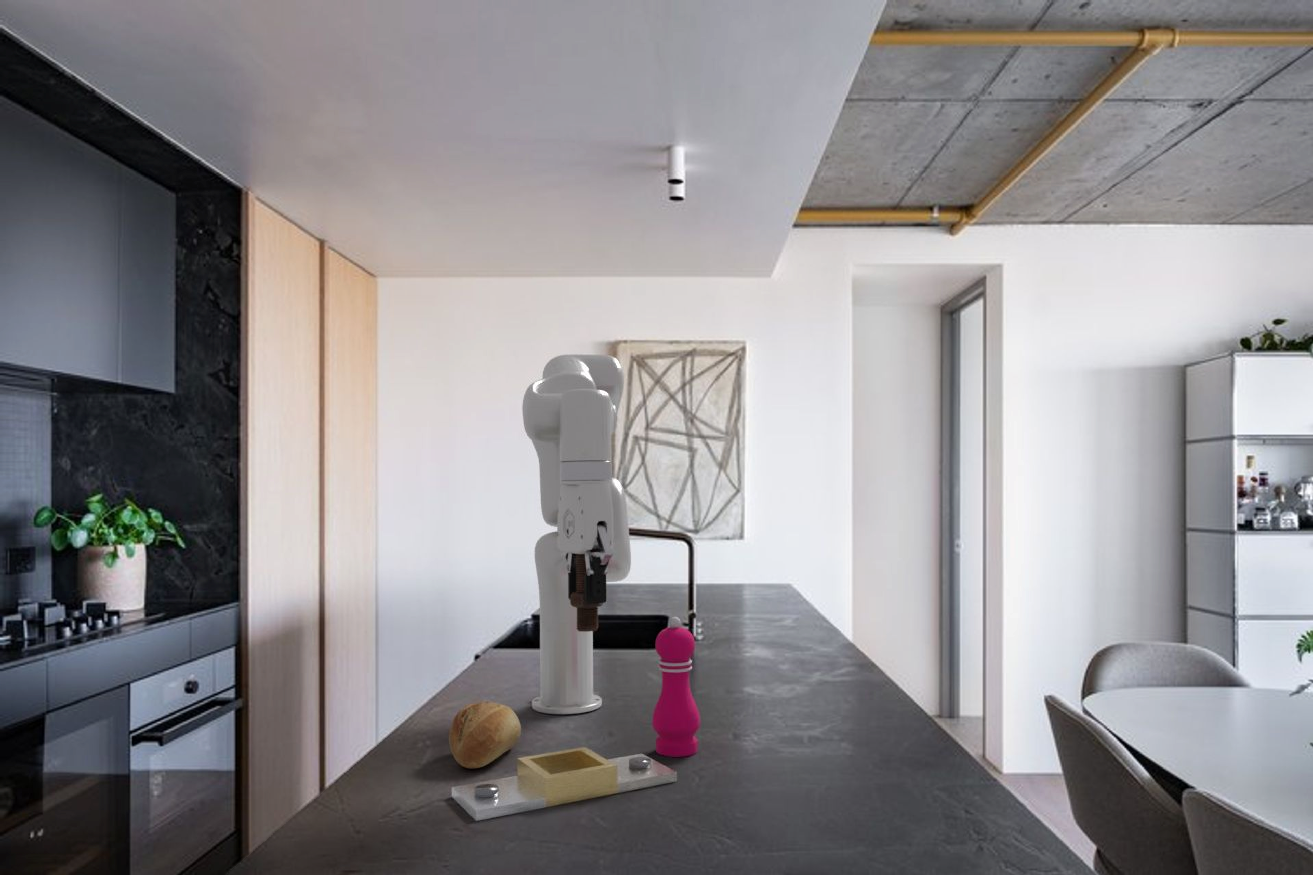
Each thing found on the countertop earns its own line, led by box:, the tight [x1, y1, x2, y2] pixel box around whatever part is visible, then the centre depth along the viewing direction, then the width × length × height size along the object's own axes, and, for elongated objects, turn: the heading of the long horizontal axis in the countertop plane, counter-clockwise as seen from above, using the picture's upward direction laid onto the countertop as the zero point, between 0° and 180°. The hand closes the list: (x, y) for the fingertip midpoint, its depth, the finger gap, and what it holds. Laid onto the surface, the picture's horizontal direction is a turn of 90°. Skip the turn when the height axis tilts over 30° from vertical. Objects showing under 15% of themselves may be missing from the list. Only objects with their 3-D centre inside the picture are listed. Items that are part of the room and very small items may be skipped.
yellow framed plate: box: [451, 746, 678, 822], centre depth 121 cm, size 10×28×4 cm, turn 119°
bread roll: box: [448, 701, 522, 769], centre depth 135 cm, size 10×15×8 cm, turn 172°
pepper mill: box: [651, 616, 701, 758], centre depth 138 cm, size 7×7×20 cm
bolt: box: [567, 529, 604, 632], centre depth 132 cm, size 6×5×15 cm
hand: (587, 599), depth 132 cm, fingers closed on bolt, 4 cm apart
